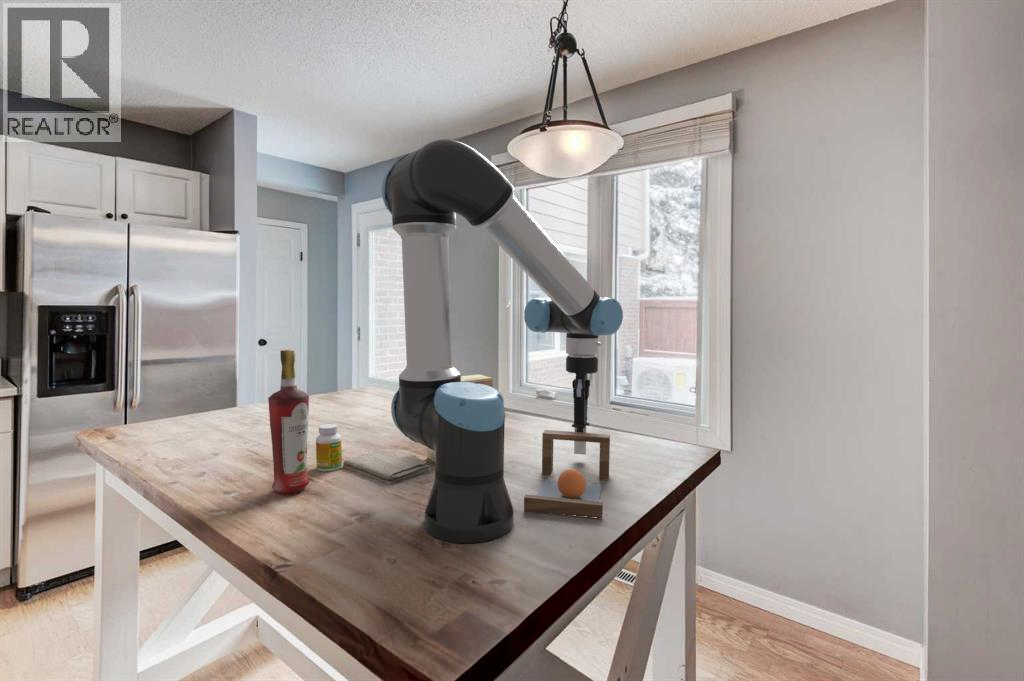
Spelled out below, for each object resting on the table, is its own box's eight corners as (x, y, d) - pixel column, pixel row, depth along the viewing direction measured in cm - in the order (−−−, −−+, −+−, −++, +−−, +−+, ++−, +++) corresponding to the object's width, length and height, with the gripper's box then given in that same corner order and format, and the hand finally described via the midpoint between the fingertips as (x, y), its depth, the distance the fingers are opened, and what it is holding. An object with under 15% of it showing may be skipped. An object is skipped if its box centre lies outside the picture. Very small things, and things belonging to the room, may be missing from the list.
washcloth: (391, 488, 102) (391, 473, 101) (340, 470, 112) (340, 456, 112) (433, 473, 111) (433, 459, 111) (382, 457, 122) (382, 445, 122)
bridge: (608, 479, 106) (609, 437, 105) (541, 473, 109) (542, 433, 109) (609, 475, 109) (610, 434, 108) (544, 469, 112) (544, 429, 112)
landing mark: (597, 509, 91) (597, 508, 91) (533, 502, 94) (533, 501, 94) (601, 486, 102) (601, 485, 102) (544, 480, 105) (544, 479, 105)
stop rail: (602, 519, 86) (602, 505, 86) (523, 510, 90) (524, 497, 90) (602, 515, 88) (602, 502, 88) (525, 507, 91) (525, 494, 91)
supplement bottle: (332, 473, 109) (331, 429, 108) (311, 471, 110) (310, 428, 109) (346, 465, 114) (345, 423, 113) (326, 463, 115) (325, 422, 114)
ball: (586, 476, 99) (585, 503, 96) (559, 474, 100) (557, 500, 97) (586, 466, 95) (585, 494, 92) (558, 463, 96) (555, 491, 93)
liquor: (294, 481, 103) (291, 348, 101) (318, 487, 100) (316, 350, 98) (262, 493, 97) (258, 351, 95) (287, 500, 94) (284, 353, 91)
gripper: (596, 359, 110) (593, 462, 112) (599, 353, 123) (597, 446, 124) (562, 357, 112) (560, 460, 113) (569, 352, 124) (567, 444, 126)
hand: (580, 453), depth 119 cm, fingers closed
